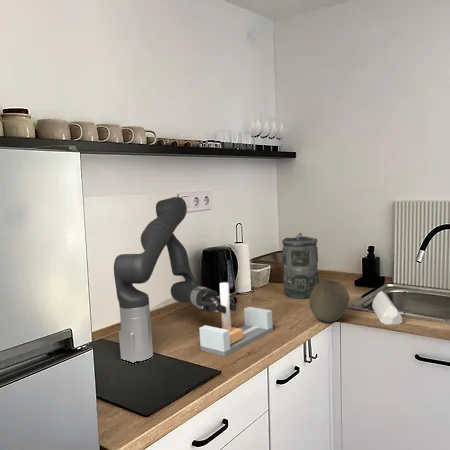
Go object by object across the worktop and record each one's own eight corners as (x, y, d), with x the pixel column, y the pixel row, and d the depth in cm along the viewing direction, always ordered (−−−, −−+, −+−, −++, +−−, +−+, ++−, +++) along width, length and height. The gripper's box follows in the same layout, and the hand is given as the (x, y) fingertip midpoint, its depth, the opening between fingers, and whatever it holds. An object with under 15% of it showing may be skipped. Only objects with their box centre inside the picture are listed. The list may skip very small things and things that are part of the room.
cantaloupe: (342, 329, 162) (340, 287, 160) (304, 324, 170) (302, 284, 168) (354, 317, 174) (353, 278, 172) (318, 313, 181) (317, 275, 180)
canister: (317, 299, 201) (314, 235, 198) (281, 298, 206) (278, 236, 203) (321, 290, 216) (319, 231, 213) (287, 289, 221) (285, 231, 218)
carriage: (228, 345, 147) (224, 287, 145) (211, 341, 152) (207, 284, 150) (243, 337, 153) (240, 281, 151) (226, 334, 158) (223, 279, 156)
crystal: (366, 297, 187) (376, 315, 163) (382, 288, 185) (394, 305, 162) (376, 312, 187) (387, 333, 163) (392, 304, 185) (405, 323, 162)
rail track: (224, 356, 143) (223, 333, 143) (200, 350, 150) (199, 327, 149) (272, 331, 164) (271, 310, 163) (250, 326, 170) (249, 306, 170)
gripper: (186, 291, 160) (210, 301, 145) (221, 284, 167) (247, 293, 152) (187, 312, 160) (211, 325, 146) (222, 305, 167) (249, 316, 153)
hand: (230, 309), depth 149 cm, fingers closed on carriage, 3 cm apart
